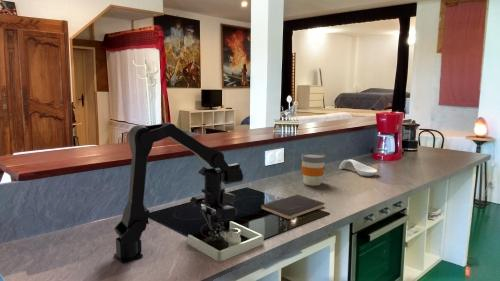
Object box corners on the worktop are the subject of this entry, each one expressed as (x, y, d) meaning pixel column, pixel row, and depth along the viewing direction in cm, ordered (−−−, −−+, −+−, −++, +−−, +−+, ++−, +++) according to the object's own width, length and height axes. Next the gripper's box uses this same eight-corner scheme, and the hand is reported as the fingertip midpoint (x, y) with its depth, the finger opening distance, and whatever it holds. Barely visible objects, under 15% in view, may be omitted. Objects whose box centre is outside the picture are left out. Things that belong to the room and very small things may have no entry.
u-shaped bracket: (219, 262, 112) (219, 252, 112) (187, 243, 124) (187, 235, 123) (263, 243, 125) (263, 235, 124) (231, 228, 137) (231, 221, 136)
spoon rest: (380, 176, 216) (381, 164, 215) (368, 179, 209) (369, 166, 208) (346, 168, 234) (347, 156, 233) (334, 170, 227) (335, 159, 226)
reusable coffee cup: (329, 184, 197) (330, 156, 194) (311, 187, 190) (313, 158, 187) (312, 178, 207) (313, 151, 204) (295, 181, 200) (296, 154, 197)
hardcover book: (324, 208, 162) (324, 203, 162) (288, 221, 147) (289, 215, 146) (296, 198, 174) (296, 194, 173) (260, 209, 159) (260, 204, 158)
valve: (246, 249, 121) (224, 236, 130) (246, 229, 120) (224, 218, 129) (230, 255, 117) (208, 242, 125) (230, 235, 115) (208, 223, 124)
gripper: (249, 188, 125) (248, 232, 128) (214, 176, 139) (214, 216, 141) (223, 194, 118) (222, 241, 120) (189, 181, 131) (189, 224, 134)
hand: (212, 230), depth 129 cm, fingers closed
